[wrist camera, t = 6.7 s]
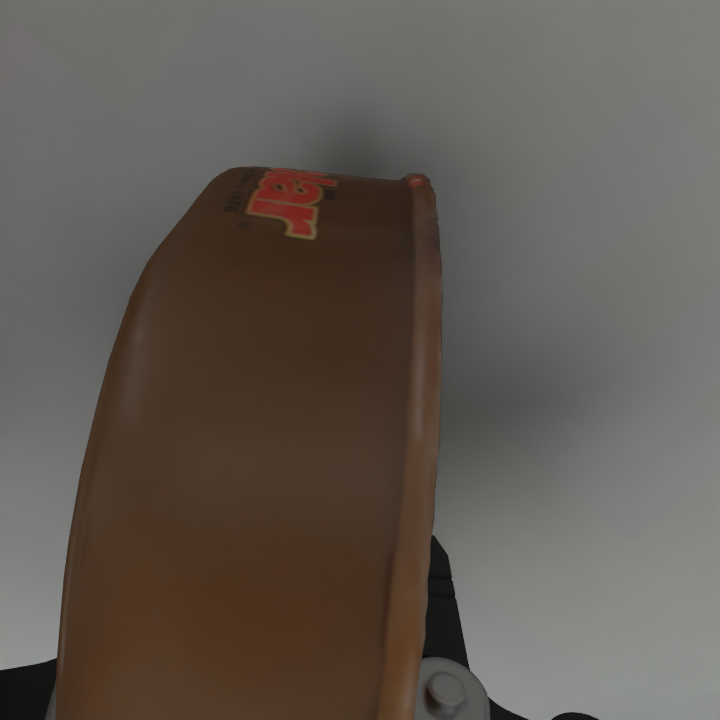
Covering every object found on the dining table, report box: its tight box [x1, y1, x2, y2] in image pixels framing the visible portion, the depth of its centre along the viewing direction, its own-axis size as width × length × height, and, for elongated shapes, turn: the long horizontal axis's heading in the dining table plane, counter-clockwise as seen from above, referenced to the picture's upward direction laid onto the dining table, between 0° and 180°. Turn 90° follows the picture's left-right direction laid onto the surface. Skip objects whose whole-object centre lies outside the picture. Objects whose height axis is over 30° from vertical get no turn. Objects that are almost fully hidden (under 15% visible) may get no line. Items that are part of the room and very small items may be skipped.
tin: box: [55, 167, 443, 720], centre depth 10 cm, size 15×3×8 cm, turn 174°
